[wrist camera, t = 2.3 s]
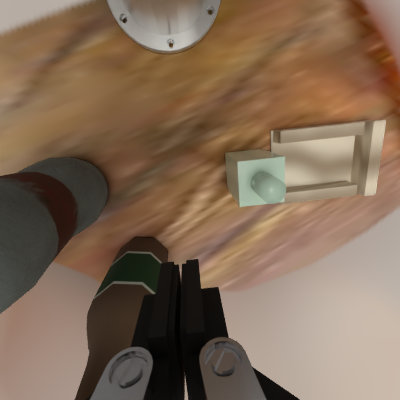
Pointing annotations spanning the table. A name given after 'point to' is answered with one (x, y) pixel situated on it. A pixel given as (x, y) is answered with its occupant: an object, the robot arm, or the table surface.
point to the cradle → (330, 159)
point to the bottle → (255, 177)
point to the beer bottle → (119, 306)
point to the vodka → (43, 218)
